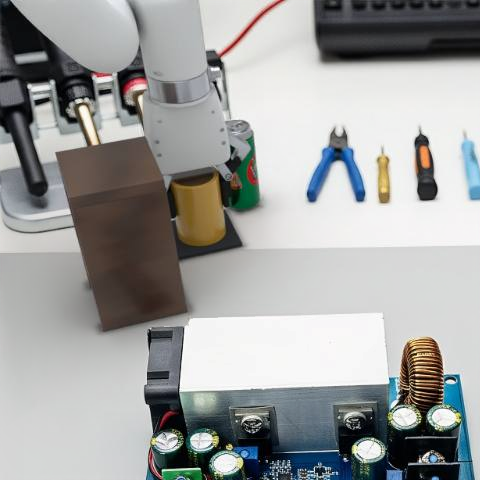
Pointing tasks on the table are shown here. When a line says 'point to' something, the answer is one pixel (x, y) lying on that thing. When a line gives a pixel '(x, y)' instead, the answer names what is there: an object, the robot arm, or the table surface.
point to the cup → (198, 206)
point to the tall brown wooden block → (124, 231)
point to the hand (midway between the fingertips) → (198, 207)
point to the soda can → (244, 169)
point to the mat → (225, 243)
